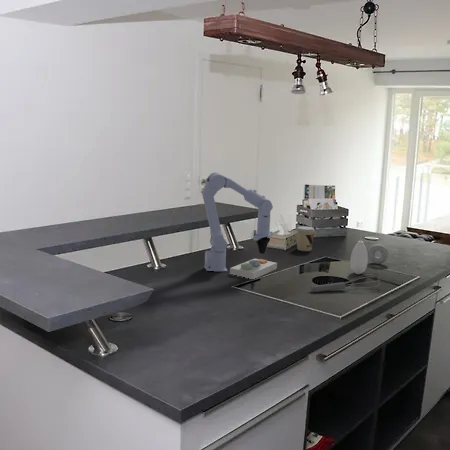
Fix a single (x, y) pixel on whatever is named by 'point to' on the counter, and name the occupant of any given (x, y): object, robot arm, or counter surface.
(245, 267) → the sage green button
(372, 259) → the donut
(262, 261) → the terracotta button
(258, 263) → the slate blue button
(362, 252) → the sauce bottle
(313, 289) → the kitchen whisk
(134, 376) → the counter surface
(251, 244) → the counter surface
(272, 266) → the button panel
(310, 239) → the coffee cup
